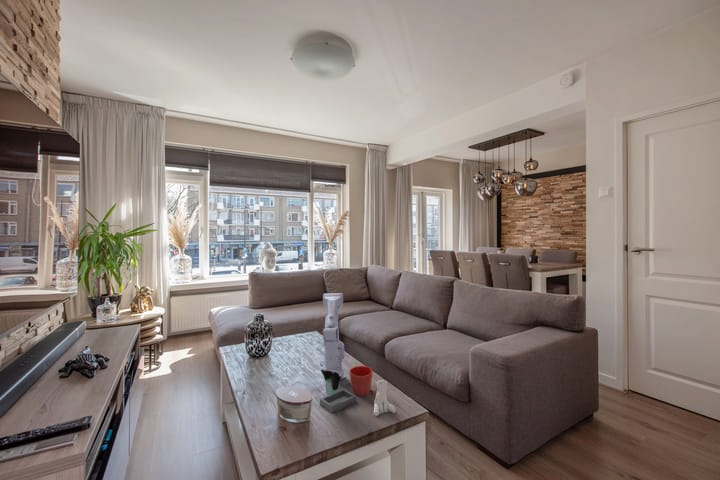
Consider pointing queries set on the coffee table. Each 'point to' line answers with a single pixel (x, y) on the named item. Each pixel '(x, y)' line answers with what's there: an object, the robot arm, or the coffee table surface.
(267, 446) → the coffee table surface
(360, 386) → the flower pot
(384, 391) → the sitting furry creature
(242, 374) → the coffee table surface
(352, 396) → the tray
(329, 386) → the teal block
